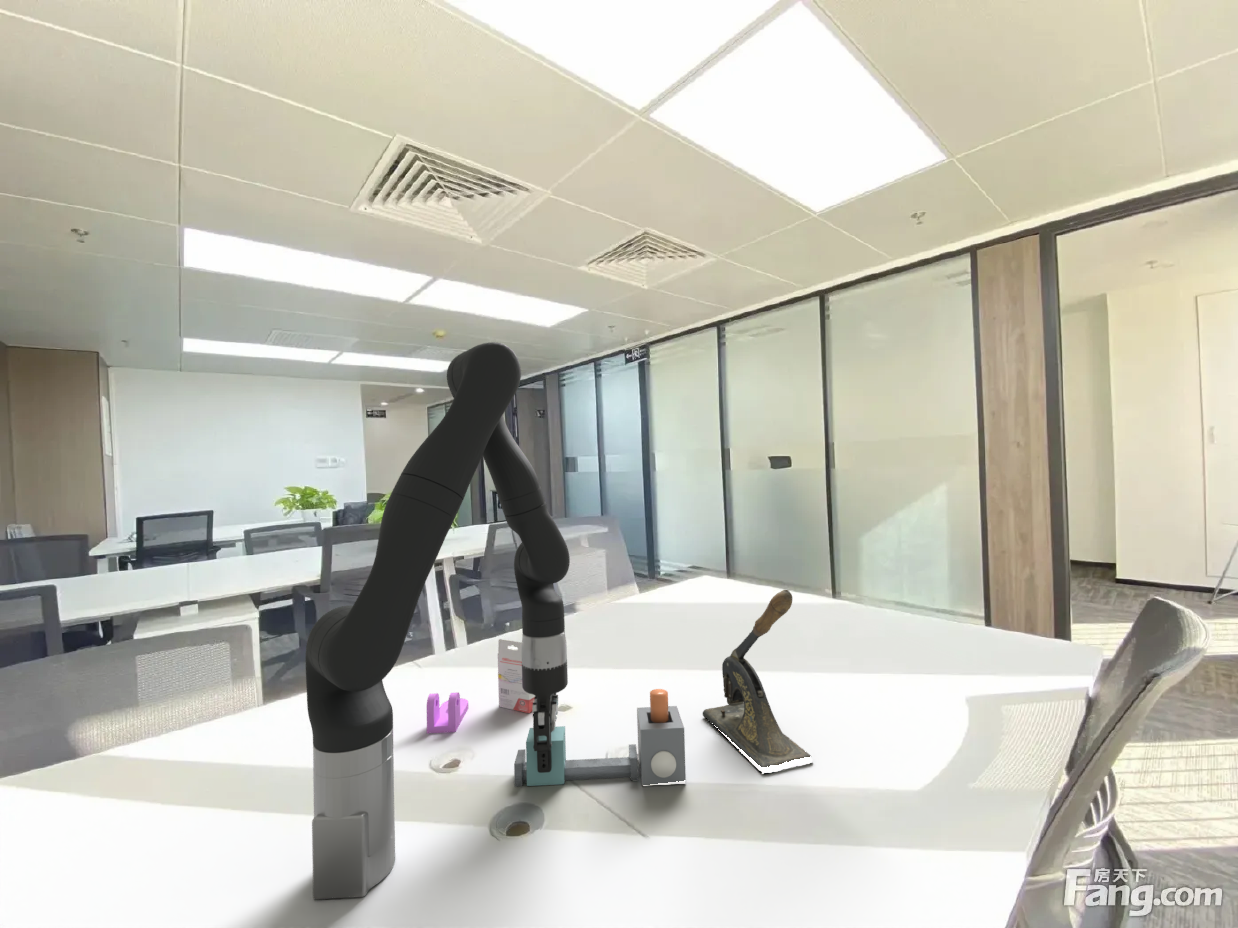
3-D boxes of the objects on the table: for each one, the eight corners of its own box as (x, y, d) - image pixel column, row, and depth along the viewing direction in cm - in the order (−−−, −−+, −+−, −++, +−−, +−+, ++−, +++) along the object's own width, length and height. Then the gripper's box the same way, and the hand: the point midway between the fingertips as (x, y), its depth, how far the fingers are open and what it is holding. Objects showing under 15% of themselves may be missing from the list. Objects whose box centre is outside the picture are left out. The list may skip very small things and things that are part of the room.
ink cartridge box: (543, 704, 115) (541, 637, 115) (529, 714, 111) (527, 643, 111) (512, 698, 119) (510, 632, 119) (497, 706, 115) (496, 638, 115)
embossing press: (748, 709, 110) (744, 566, 111) (819, 769, 88) (813, 588, 88) (700, 716, 108) (696, 569, 108) (761, 780, 85) (755, 594, 85)
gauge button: (669, 722, 87) (668, 695, 87) (651, 723, 87) (650, 696, 87) (667, 714, 90) (666, 688, 90) (649, 715, 90) (649, 689, 90)
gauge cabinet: (686, 785, 84) (684, 728, 84) (642, 788, 83) (640, 730, 84) (678, 757, 92) (676, 705, 92) (638, 759, 92) (636, 707, 92)
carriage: (564, 783, 85) (563, 740, 85) (526, 785, 85) (525, 741, 85) (566, 767, 90) (565, 726, 90) (530, 769, 89) (529, 727, 90)
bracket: (455, 732, 104) (455, 696, 104) (427, 733, 103) (426, 698, 104) (471, 703, 117) (470, 672, 117) (445, 705, 116) (445, 673, 117)
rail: (638, 780, 86) (637, 757, 86) (514, 786, 85) (514, 763, 85) (636, 765, 90) (635, 744, 90) (518, 771, 89) (518, 749, 89)
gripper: (564, 673, 81) (567, 781, 80) (569, 643, 95) (571, 735, 95) (515, 676, 80) (517, 784, 80) (527, 645, 95) (529, 737, 94)
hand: (547, 757), depth 87 cm, fingers open, 7 cm apart
